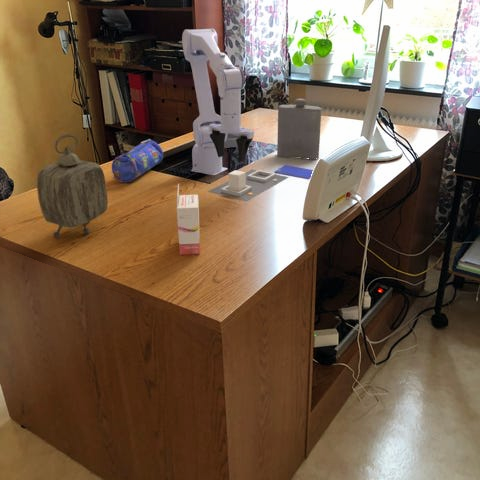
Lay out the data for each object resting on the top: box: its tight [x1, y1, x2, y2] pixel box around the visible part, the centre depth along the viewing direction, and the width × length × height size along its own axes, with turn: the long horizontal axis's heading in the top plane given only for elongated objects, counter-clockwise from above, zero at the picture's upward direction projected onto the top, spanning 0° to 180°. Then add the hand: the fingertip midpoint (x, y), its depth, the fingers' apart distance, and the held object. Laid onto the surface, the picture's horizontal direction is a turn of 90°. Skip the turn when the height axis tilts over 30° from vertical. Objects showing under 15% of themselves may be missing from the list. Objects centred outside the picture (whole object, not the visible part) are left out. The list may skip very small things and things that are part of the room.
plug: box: [228, 169, 247, 192], centre depth 159 cm, size 4×4×6 cm
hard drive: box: [273, 164, 314, 180], centre depth 174 cm, size 2×8×12 cm
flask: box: [276, 98, 322, 160], centre depth 187 cm, size 15×6×20 cm, turn 73°
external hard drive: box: [224, 134, 254, 148], centre depth 205 cm, size 13×19×4 cm
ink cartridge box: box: [176, 183, 201, 256], centre depth 125 cm, size 9×5×15 cm, turn 5°
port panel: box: [207, 169, 289, 202], centre depth 165 cm, size 14×24×2 cm, turn 146°
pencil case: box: [111, 138, 164, 184], centre depth 174 cm, size 22×9×10 cm, turn 162°
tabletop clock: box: [36, 133, 108, 239], centre depth 130 cm, size 14×9×25 cm, turn 150°
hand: (231, 158), depth 159 cm, fingers open, 7 cm apart
